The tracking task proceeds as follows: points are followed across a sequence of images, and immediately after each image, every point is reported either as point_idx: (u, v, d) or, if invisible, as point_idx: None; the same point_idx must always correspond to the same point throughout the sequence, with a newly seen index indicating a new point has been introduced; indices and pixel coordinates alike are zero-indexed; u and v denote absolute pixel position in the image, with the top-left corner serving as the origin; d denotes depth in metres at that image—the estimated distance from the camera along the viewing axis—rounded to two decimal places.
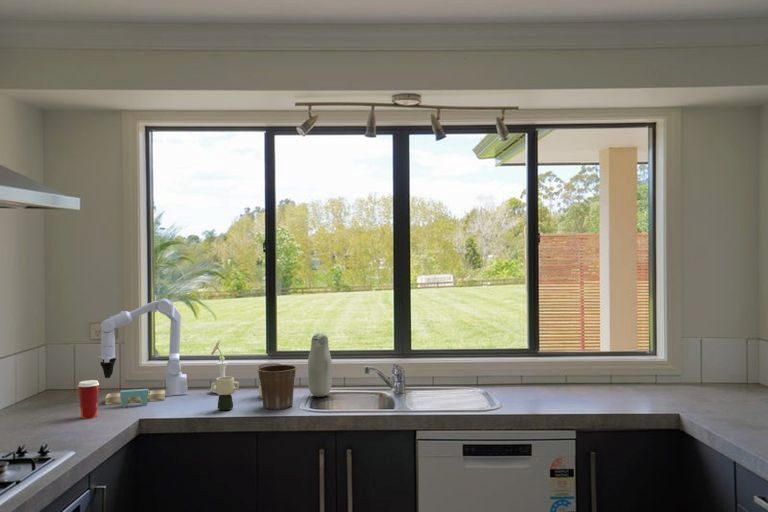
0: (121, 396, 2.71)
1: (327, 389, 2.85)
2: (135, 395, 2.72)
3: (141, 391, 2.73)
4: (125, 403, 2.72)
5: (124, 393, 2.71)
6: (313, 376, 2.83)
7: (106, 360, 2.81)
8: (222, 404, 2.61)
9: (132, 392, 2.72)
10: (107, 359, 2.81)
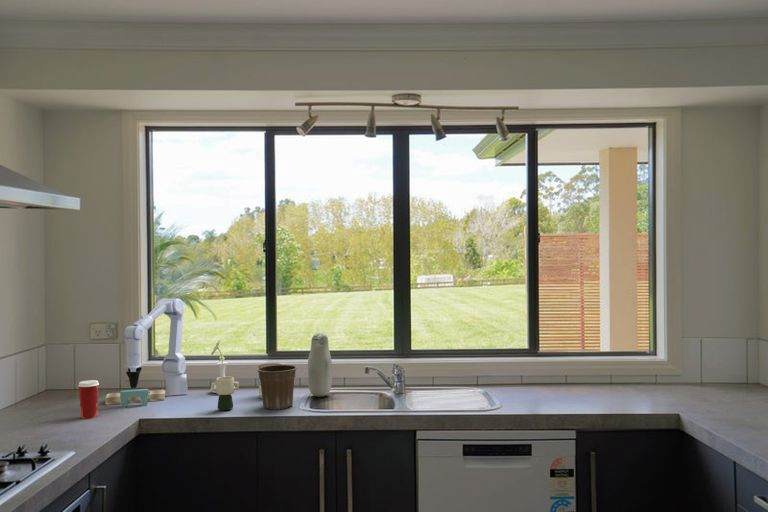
0: (121, 396, 2.71)
1: (327, 389, 2.85)
2: (135, 395, 2.72)
3: (141, 391, 2.73)
4: (125, 403, 2.72)
5: (124, 393, 2.71)
6: (313, 376, 2.83)
7: (132, 369, 2.67)
8: (222, 404, 2.61)
9: (132, 392, 2.72)
10: (133, 368, 2.67)
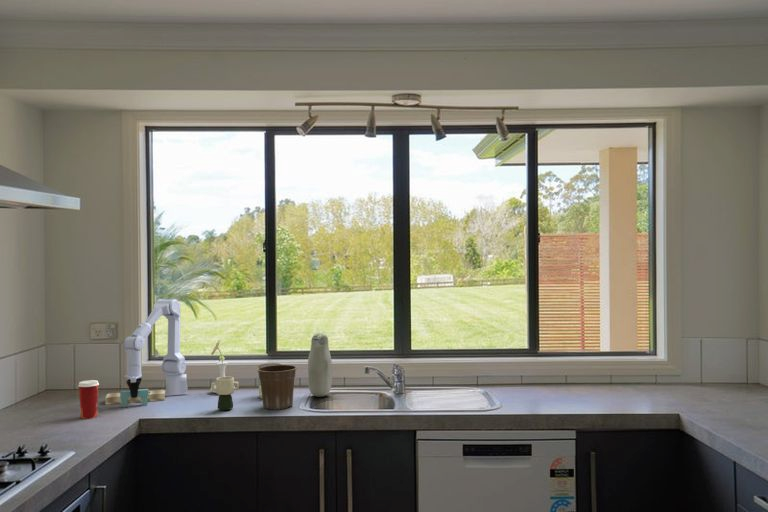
0: (121, 396, 2.71)
1: (327, 389, 2.85)
2: None
3: (141, 391, 2.73)
4: (125, 403, 2.72)
5: (124, 393, 2.71)
6: (313, 376, 2.83)
7: (132, 380, 2.67)
8: (222, 404, 2.61)
9: None
10: (134, 379, 2.67)
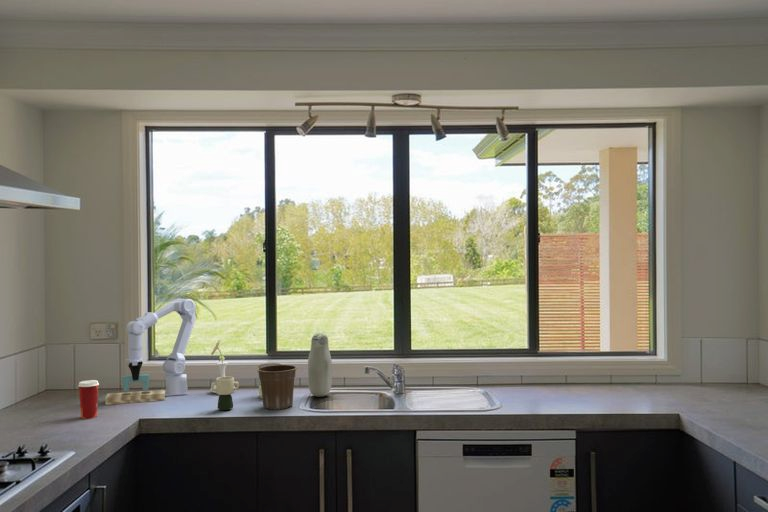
0: (123, 381, 2.80)
1: (327, 389, 2.85)
2: (136, 380, 2.82)
3: (142, 376, 2.83)
4: (127, 388, 2.81)
5: (126, 378, 2.81)
6: (313, 376, 2.83)
7: (134, 363, 2.76)
8: (222, 404, 2.61)
9: None
10: (135, 362, 2.77)
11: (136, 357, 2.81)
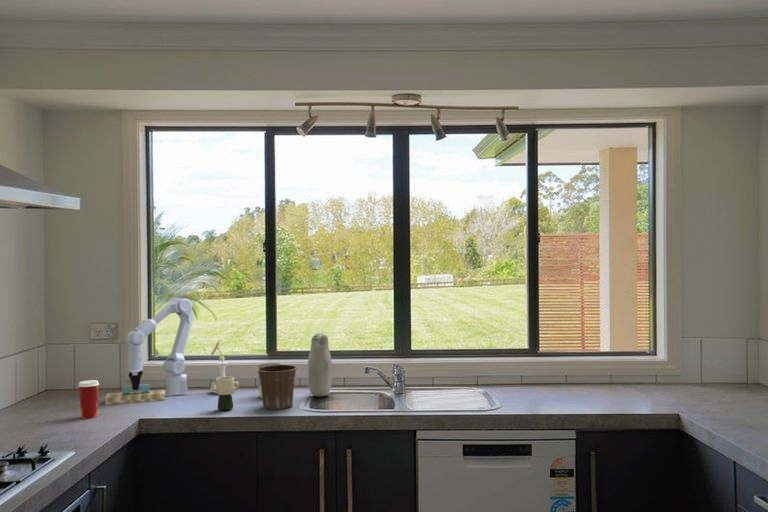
0: (123, 391, 2.81)
1: (327, 389, 2.85)
2: (136, 390, 2.83)
3: (142, 386, 2.84)
4: None
5: (126, 388, 2.82)
6: (313, 376, 2.83)
7: (134, 373, 2.77)
8: (222, 404, 2.61)
9: None
10: (135, 372, 2.77)
11: (136, 367, 2.82)
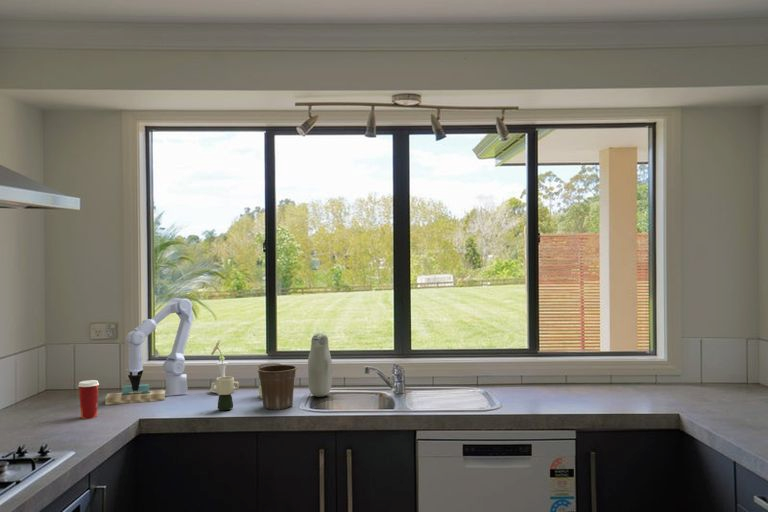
0: (123, 391, 2.81)
1: (327, 389, 2.85)
2: None
3: (142, 386, 2.84)
4: None
5: (126, 388, 2.82)
6: (313, 376, 2.83)
7: (134, 373, 2.77)
8: (222, 404, 2.61)
9: None
10: (135, 372, 2.77)
11: (136, 367, 2.82)
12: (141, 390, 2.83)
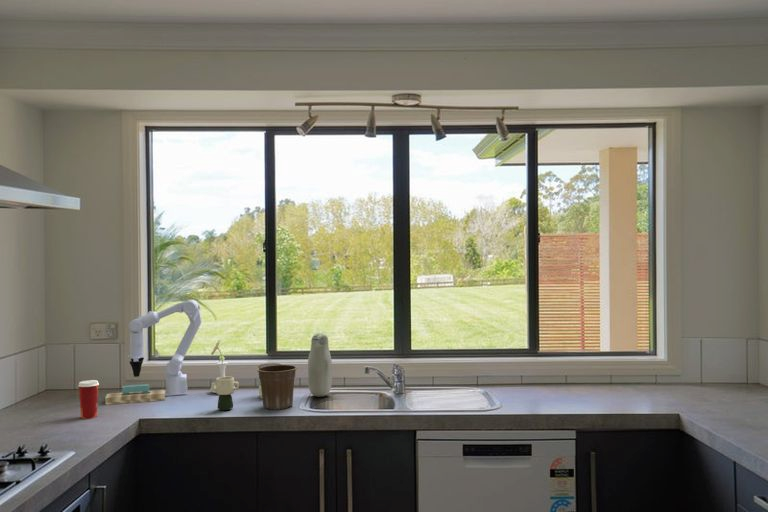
0: (123, 391, 2.81)
1: (327, 389, 2.85)
2: (136, 390, 2.83)
3: (142, 386, 2.84)
4: None
5: (126, 388, 2.82)
6: (313, 376, 2.83)
7: (135, 359, 2.87)
8: (222, 404, 2.61)
9: (133, 387, 2.83)
10: (136, 358, 2.87)
11: (137, 353, 2.91)
12: (141, 390, 2.83)
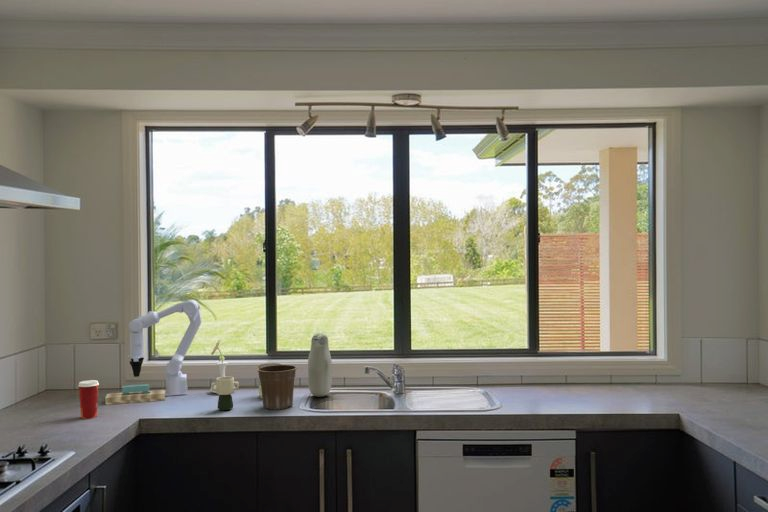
0: (123, 391, 2.81)
1: (327, 389, 2.85)
2: (136, 390, 2.83)
3: (142, 386, 2.84)
4: None
5: (126, 388, 2.82)
6: (313, 376, 2.83)
7: (135, 359, 2.87)
8: (222, 404, 2.61)
9: (133, 387, 2.83)
10: (136, 358, 2.87)
11: (137, 353, 2.91)
12: (141, 390, 2.83)
